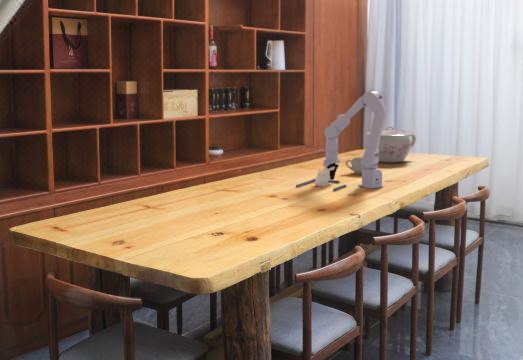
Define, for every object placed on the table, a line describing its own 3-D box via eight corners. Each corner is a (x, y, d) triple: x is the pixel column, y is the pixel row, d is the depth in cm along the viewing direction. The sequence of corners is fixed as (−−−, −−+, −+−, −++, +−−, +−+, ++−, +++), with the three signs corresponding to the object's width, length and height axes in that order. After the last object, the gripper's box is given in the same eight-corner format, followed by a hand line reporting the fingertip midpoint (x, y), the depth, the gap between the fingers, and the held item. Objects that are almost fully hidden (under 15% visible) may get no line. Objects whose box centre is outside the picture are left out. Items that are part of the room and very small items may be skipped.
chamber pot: (362, 163, 378) (362, 127, 374) (368, 157, 404) (369, 123, 400) (411, 165, 370) (413, 129, 366) (415, 159, 396) (416, 124, 392)
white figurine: (327, 182, 319) (327, 162, 317) (339, 184, 314) (339, 164, 312) (310, 186, 310) (311, 165, 309) (323, 188, 305) (323, 167, 303)
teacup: (371, 172, 349) (371, 157, 348) (372, 175, 339) (373, 160, 337) (345, 171, 351) (345, 157, 349) (345, 175, 340) (345, 159, 339)
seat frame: (353, 184, 314) (353, 182, 314) (335, 191, 297) (335, 189, 297) (315, 180, 325) (315, 178, 325) (295, 187, 307) (295, 185, 307)
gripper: (330, 149, 322) (330, 176, 325) (317, 152, 310) (317, 180, 312) (344, 150, 319) (343, 177, 321) (331, 153, 306) (330, 182, 309)
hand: (331, 179), depth 316 cm, fingers closed
